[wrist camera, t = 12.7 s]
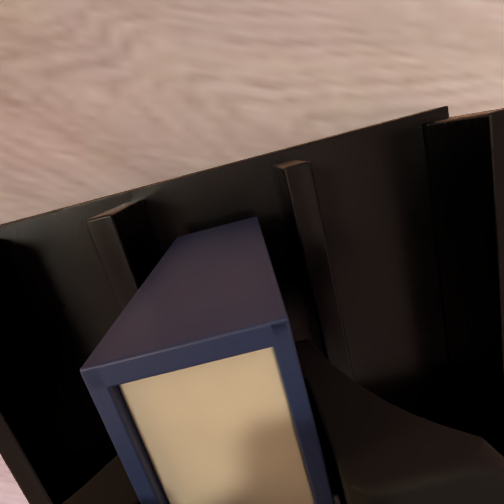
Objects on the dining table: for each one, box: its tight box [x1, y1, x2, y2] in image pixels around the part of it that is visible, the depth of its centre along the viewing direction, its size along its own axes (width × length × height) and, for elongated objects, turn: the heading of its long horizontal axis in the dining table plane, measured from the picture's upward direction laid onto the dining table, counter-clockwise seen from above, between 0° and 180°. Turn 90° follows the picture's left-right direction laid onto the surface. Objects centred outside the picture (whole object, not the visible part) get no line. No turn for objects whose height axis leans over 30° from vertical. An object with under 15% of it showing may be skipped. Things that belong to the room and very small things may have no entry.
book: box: [80, 216, 335, 504], centre depth 10 cm, size 10×3×8 cm, turn 14°
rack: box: [0, 106, 504, 504], centre depth 14 cm, size 14×19×4 cm
